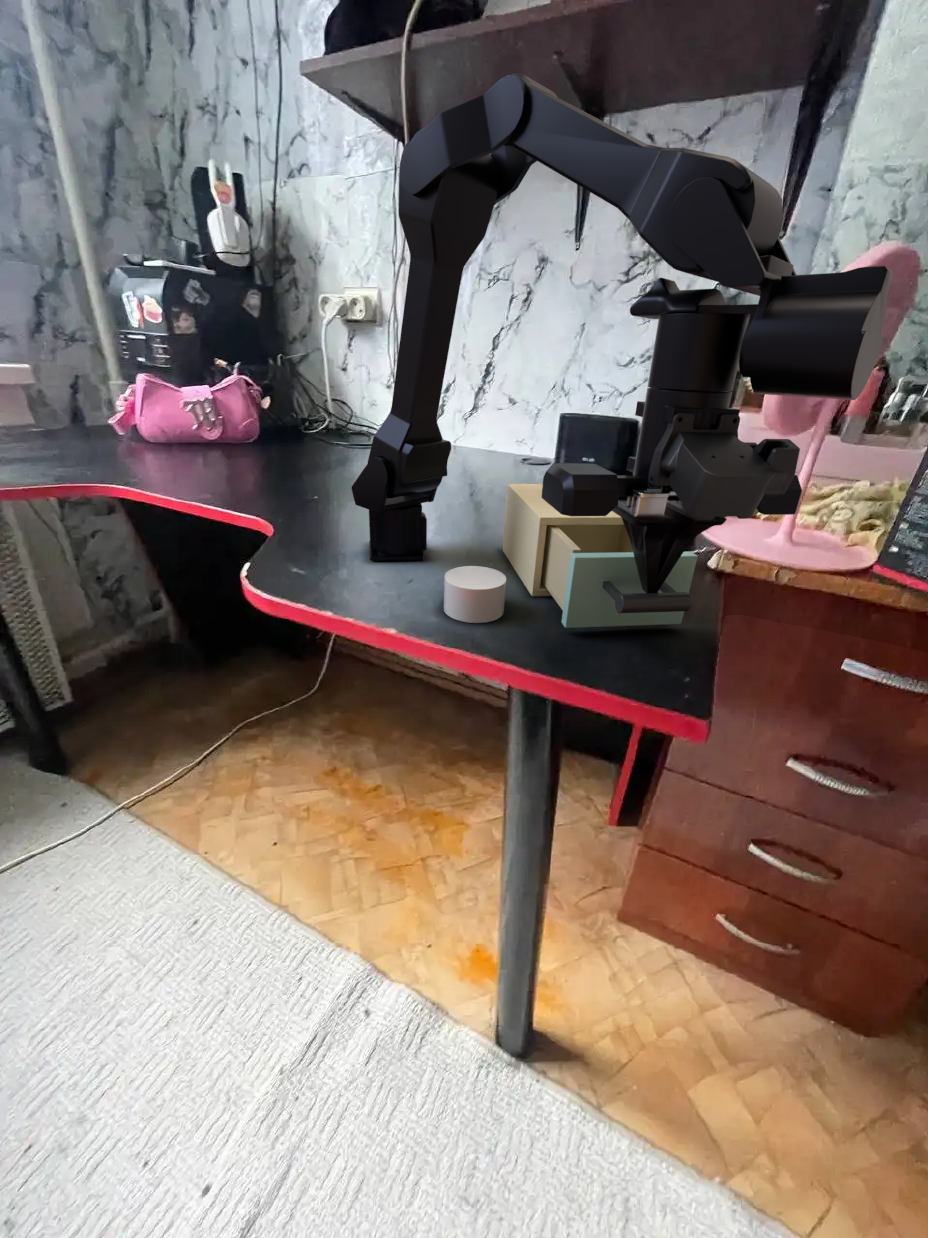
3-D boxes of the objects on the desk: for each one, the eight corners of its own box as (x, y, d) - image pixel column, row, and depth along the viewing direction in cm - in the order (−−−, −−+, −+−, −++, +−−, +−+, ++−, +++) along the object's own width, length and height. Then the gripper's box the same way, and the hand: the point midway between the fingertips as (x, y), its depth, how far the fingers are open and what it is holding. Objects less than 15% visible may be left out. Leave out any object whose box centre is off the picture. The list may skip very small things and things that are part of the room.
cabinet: (643, 593, 60) (658, 517, 56) (531, 596, 58) (540, 517, 54) (594, 549, 73) (604, 484, 69) (502, 550, 71) (507, 483, 67)
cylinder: (447, 624, 51) (448, 590, 50) (440, 597, 57) (441, 566, 55) (509, 622, 52) (512, 588, 51) (497, 596, 57) (499, 565, 56)
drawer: (709, 649, 47) (729, 576, 44) (583, 655, 45) (595, 579, 42) (622, 571, 63) (633, 513, 60) (527, 572, 61) (533, 513, 58)
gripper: (608, 393, 30) (574, 642, 37) (899, 401, 33) (819, 631, 40) (549, 384, 40) (531, 581, 47) (777, 390, 43) (729, 576, 50)
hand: (649, 592), depth 46 cm, fingers closed, pressing on drawer
